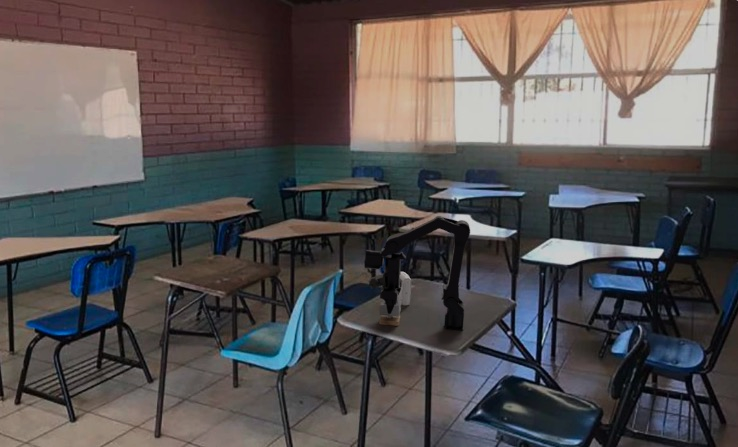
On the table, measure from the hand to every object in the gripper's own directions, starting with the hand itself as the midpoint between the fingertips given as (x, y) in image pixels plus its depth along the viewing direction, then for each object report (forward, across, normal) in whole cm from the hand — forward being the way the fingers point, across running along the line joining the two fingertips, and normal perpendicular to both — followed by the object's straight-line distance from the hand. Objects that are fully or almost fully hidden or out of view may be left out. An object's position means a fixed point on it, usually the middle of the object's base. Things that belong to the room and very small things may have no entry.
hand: (390, 310), depth 233 cm
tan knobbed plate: (+4, 0, 0) cm, 4 cm away
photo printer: (+5, -25, +2) cm, 26 cm away
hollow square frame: (+1, 0, 0) cm, 1 cm away
